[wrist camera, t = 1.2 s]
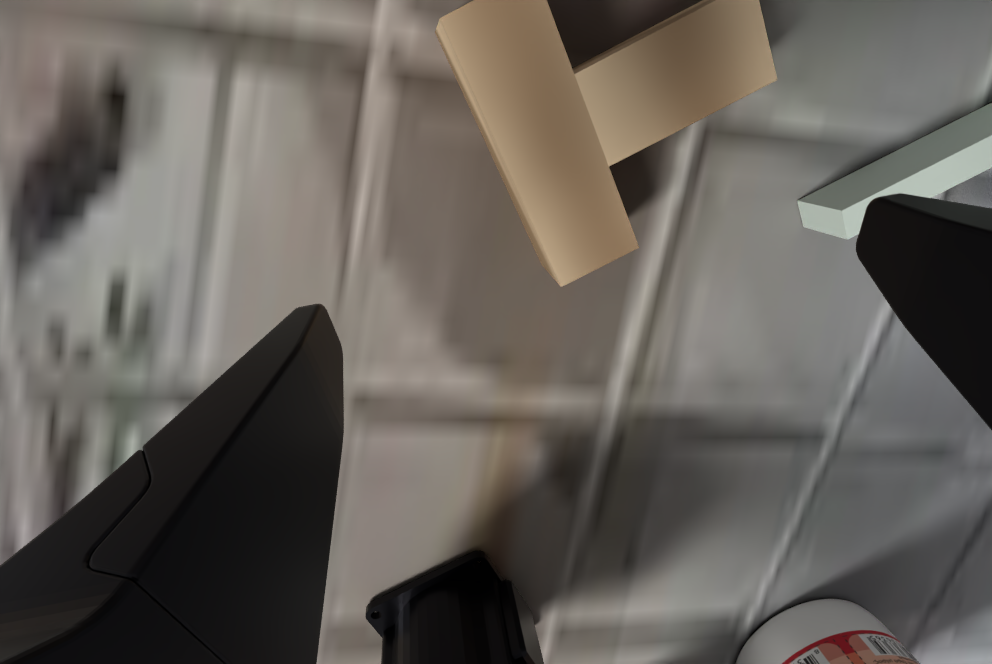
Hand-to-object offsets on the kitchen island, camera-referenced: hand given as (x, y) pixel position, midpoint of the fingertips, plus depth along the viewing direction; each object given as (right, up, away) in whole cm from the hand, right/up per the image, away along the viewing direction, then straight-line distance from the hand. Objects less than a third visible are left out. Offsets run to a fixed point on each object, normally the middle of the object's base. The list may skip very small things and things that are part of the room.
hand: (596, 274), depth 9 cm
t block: (+2, +7, +11) cm, 13 cm away
